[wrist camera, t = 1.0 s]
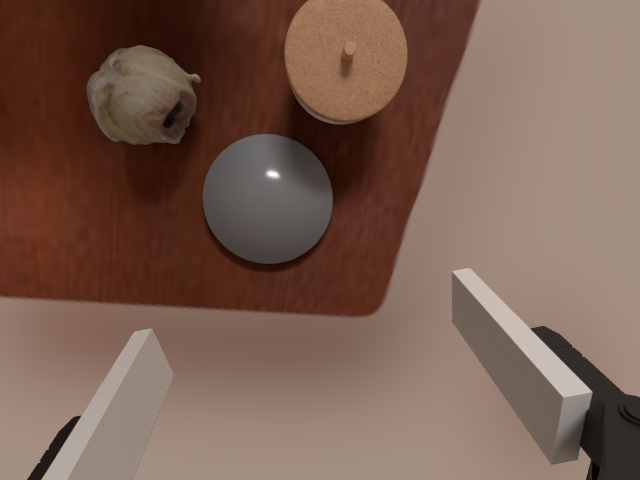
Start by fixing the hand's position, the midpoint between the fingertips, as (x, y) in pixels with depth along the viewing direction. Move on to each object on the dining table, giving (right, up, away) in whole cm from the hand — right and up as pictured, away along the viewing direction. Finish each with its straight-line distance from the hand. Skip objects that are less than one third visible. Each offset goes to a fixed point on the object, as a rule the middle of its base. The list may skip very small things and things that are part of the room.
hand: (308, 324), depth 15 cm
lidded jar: (+2, +21, +22) cm, 30 cm away
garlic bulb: (-16, +18, +21) cm, 32 cm away
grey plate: (-5, +8, +23) cm, 25 cm away
